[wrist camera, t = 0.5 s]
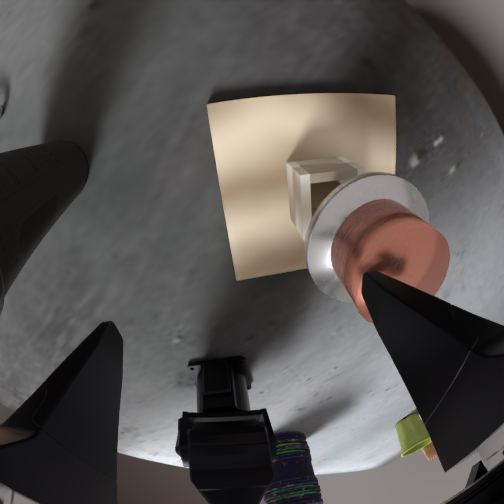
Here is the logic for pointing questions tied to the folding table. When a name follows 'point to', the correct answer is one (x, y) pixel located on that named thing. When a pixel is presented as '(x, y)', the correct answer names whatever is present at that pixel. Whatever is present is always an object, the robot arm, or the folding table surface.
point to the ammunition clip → (429, 451)
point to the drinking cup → (34, 199)
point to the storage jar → (293, 472)
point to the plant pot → (412, 434)
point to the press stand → (292, 166)
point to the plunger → (374, 238)
